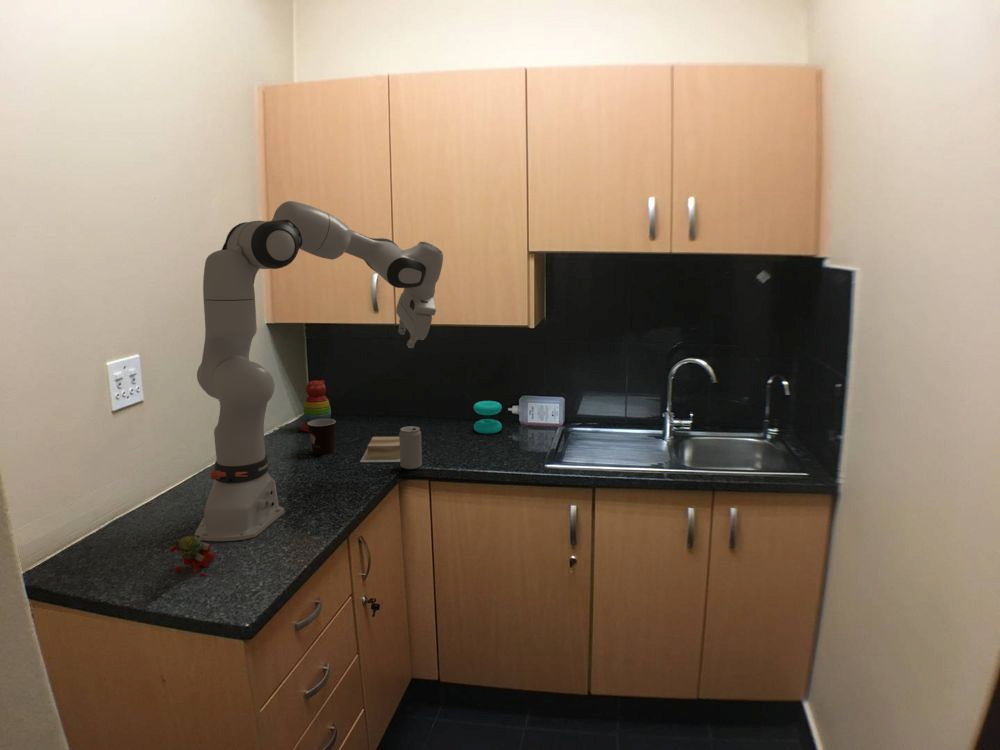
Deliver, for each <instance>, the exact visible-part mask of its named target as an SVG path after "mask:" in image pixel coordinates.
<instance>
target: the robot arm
mask: <svg viewBox="0 0 1000 750" xmlns="http://www.w3.org/2000/svg"><path fill="white" fill-rule="evenodd" d="M349 227H350V226H348V224H346V223H344V222H343V221H342V220H340V219H339V218H337V217H336V216H334V215H332V214H330V213H328V212H326V211H324V210H321V209H319V208H317V207H314V206H311V205H309V204H308V205H307V204H305V203H302V202H297V201H292V200H288V201H285V202H283V203H281V204H280V205H279V206H278V207H277V208H276V209H275V211H274V214H273V217H272V219H271V220H251V221H248V222H247V221H245V222H240V223H239V224H237V225H235V226H233V227H232V228H231V229H230V231H229V232H228V233H227V235H226V239H225V241H224V243H223V245H222V247H221V249H220V250H215V251H214V252H212V253H210V254H209V255H208V256H206V259H205V263H204V269H203V279H202V282H203V283H202V289H203V290H202V292H203V293H202V294H203V295H202V296H203V310H204V326H205V327H204V330H205V332H204V334H205V335H204V344H203V351H202V357H201V363H200V364H199V366H198V368H197V372H196V379H197V382H198V384H199V386H200V387H201V389H202V390H203V391H204V392H205V393H206V394H207V395H208V396H209V397H211V398H213V399H216V400H218V401H219V406H220V407H219V415H218V422H217V425H216V426H215V427H214V429H213V431H214V432H213V436H214V447H215V448H214V449H215V457H216V460H215V462H214V468H213V470H211V471H210V474H209V475H210V476H209V477H210V479H211V480H213V484H212V486H211V489H210V492H209V494H208V498H207V501H206V503H205V506H204V512H203V515H204V516H203V517H202V519H201V520H200V522H199V523H200V524H199V525H198V527H197V528H196V530H195V533H194V536H195V537H196V535H199V536H200V538H199V539H200V540H201V541H207V542H233V541H243V540H249V539H252V538H255V537H257V536H258V535H260V534H261V533H262V532H263V531H264V530H266V529H267V528H268V527H269V526H270V525H272V524H273V523H274V522H275V521H276V520H278V519H279V518H280V517H282V515H284V514H285V513H286V512H285V511H286V510H285V507H284V506H283V507H282V506H280V505H279V498H278V492H277V485H276V480H275V479H274V478H273V477H272V476H271V475H270V474H269V472H268V471H269V460H268V455H267V454H266V446H265V432H264V431H265V429H264V425H265V417H266V412H267V406H268V402H270V400H271V399H272V398H273V395H274V393H275V389H276V387H275V386H276V385H275V380H274V378H273V376H272V374H271V373H270V372H269V371H268V370H267V369H266V368H264V367H263V366H262V365H261V364H259V363H258V362H255V361H252V360H250V351H251V346H252V341H253V338H254V337H255V336H256V333H257V330H258V329H257V311H256V309H257V308H256V299H255V298H256V295H255V293H256V292H255V285H254V284H255V280H256V276H257V273H258V272H259V270H270V269H272V270H279V269H282V268H285V267H287V266H288V265H290V264H291V263H292V262H293V261H294V260H295V259H296V257H297V255H298V253H299V250H301V251H303V252H306V253H308V254H310V255H313V256H315V257H319V258H322V259H325V260H336V259H338V258H339V257H341V256H342V255H343V254H344V253H345V254H348V255H351V256H353V257H355V258H359V259H361V260H363V262H365V264H366V265H367V267H369V268H370V269H371V270H372V271H374V272H375V273H377V274H378V275H379V276H380V277H381V278H382V279H383V280H384V281H386V282H387V283H388V284H389V285H391V286H392V287H394V288H395V289H397V288H398V289H403V292H402V293H400V296H399V298H398V301H397V304H396V308H395V313H396V315H397V316H398V318H399V321H398V325H399V327H398V331H397V332H398V333H399V334H400V335H406V331H408V332H409V334H410V336H409V337H410V338H409V340H407V343H406V346H407V348H408V349H414V347H415V344H416V343H417V341H418V340H421V341H424V340H425V339H427V337H428V334H429V331H430V328H431V325H432V320H433V316H435V314H436V312H437V308H436V306H435V305H436V304H435V292H436V285H437V283H438V281H439V279H440V276H441V271H442V267H443V263H444V262H443V261H444V253H443V251H441V249H440V248H438V247H437V246H436V245H433V244H431V243H429V242H427V241H419V242H418V243H417V244H416V245H414V246H412V247H410V248H406V249H401V247H399V246H398V244H396V243H395V242H394V241H393V240H391V239H388V238H385V237H384V238H383V237H382V238H373V237H369V236H366V235H364V234H362V233H359V232H356V231H354V230H352V229H351V228H349Z"/></svg>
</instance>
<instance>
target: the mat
mask: <svg viewBox="0 0 1000 750" xmlns="http://www.w3.org/2000/svg"><path fill="white" fill-rule="evenodd" d="M398 462H399V463H400V458H395V459H368V447H367V448H366V450H365V452H364V454H363V456H362V457H361V459H360V461H359V463H398Z"/></svg>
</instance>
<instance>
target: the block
mask: <svg viewBox="0 0 1000 750" xmlns="http://www.w3.org/2000/svg"><path fill="white" fill-rule="evenodd" d="M367 448H368V459H395V458H400V442H399V436H372V438H371V440H370V441H369V443H368V444H367Z"/></svg>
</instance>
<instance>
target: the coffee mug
mask: <svg viewBox="0 0 1000 750" xmlns="http://www.w3.org/2000/svg"><path fill="white" fill-rule="evenodd" d="M336 423H337V422H336V420H335V419H332V418H330V419H317V420H312V421H310V422H308V423H307V424H308V430H309V432H308V433H309V437H310V438H309V439H310V445H311V449H312V450H311V451H312V454H313V455H314V454H315V455H314V456H316V455H322V456H323V455H329V454H330V455H331V454H333V453H334V452H335V440H336V439H335V438H336V425H337V424H336Z"/></svg>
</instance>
